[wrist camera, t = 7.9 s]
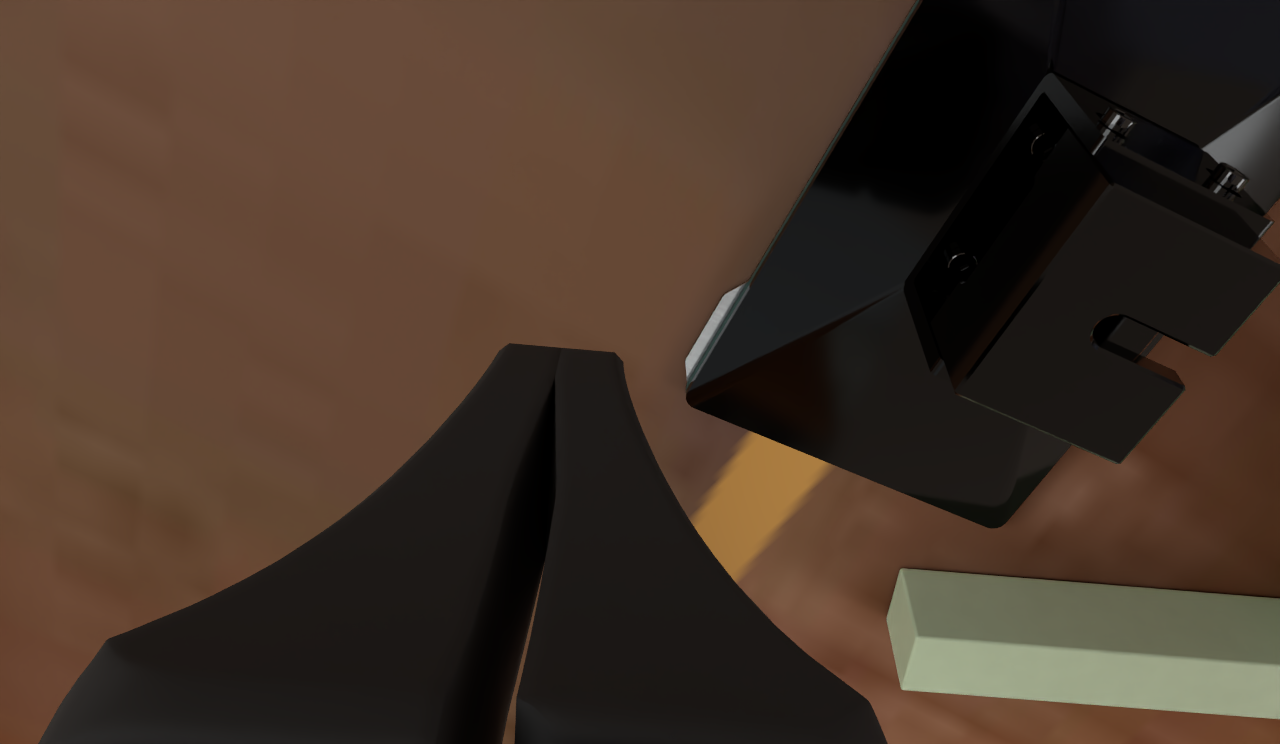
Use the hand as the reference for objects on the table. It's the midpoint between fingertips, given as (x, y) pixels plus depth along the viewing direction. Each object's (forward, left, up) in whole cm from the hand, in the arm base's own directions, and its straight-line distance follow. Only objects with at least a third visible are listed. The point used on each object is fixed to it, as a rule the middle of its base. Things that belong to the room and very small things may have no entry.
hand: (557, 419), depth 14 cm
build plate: (-7, 0, -7) cm, 10 cm away
